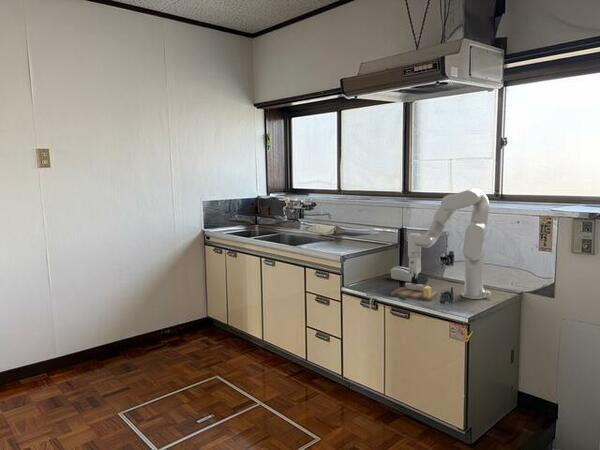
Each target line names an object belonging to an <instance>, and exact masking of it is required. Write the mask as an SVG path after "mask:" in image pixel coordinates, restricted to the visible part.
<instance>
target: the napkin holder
mask: <svg viewBox="0 0 600 450" xmlns="http://www.w3.org/2000/svg"><path fill="white" fill-rule="evenodd" d="M390 278H391V279H393V280H397V281H398V280H399V281H403V282H406V283H411V274H409V267H405V266H394V267H392V268H391V269H390Z"/></svg>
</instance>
